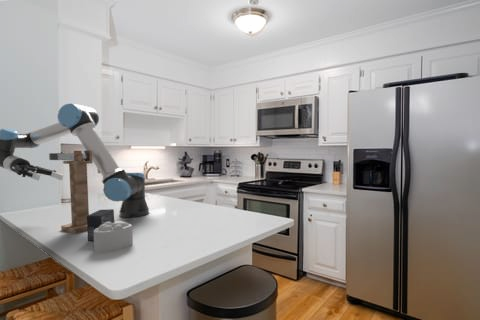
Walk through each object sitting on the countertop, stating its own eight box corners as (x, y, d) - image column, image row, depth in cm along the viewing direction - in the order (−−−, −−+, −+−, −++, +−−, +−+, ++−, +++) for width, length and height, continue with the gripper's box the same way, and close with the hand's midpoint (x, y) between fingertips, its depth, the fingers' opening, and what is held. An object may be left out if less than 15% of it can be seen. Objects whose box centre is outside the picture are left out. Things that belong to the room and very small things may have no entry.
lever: (49, 159, 133) (48, 153, 133) (56, 159, 136) (55, 153, 136) (81, 160, 122) (81, 153, 121) (88, 160, 124) (88, 153, 124)
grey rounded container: (136, 243, 107) (135, 221, 106) (103, 254, 96) (102, 230, 96) (120, 238, 113) (120, 217, 112) (88, 248, 102) (87, 225, 102)
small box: (100, 232, 121) (99, 209, 120) (115, 232, 120) (114, 209, 120) (86, 241, 110) (85, 215, 109) (102, 241, 110) (101, 215, 109)
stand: (60, 230, 125) (56, 150, 123) (84, 223, 135) (80, 150, 133) (77, 233, 120) (73, 150, 118) (100, 226, 129) (97, 150, 127)
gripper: (37, 172, 152) (68, 184, 148) (-12, 171, 128) (25, 185, 124) (41, 159, 153) (73, 171, 149) (-7, 155, 128) (30, 169, 124)
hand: (51, 177), depth 136 cm, fingers open, 13 cm apart
